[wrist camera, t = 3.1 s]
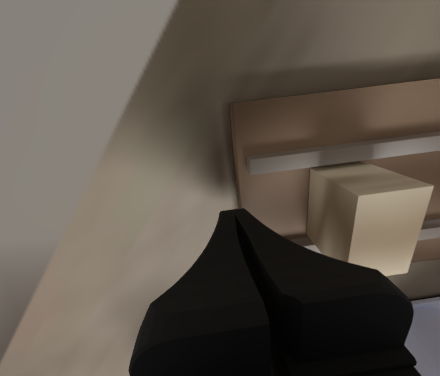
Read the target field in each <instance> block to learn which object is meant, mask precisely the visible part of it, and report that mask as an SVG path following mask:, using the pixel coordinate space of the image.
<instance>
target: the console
mask: <svg viewBox="0 0 440 376" xmlns="http://www.w3.org/2000/svg"><path fill="white" fill-rule="evenodd" d="M229 106H230V118H231V129H232V141H233V152H234V164H235V175H236V187H237V198H238V209H241V208H245V209H246V210H247V211H248V212H249V213H251V214H252V215H253V216H254V217H255V218H256V219H258V220H259V221H260V222H262V223H263V224H264V225H265V226H267V227H268V228H270V229H271V230H273V231H274V232H276V233H278V234H279V235H281V236H283V237H285V238H286V239H288V240H290V241H292V242H294V243H296V244H298V245H301V246H303V247H305V248H308V249H310V250H312V251H315V252H318V253H320V254H322V253H321V252H320V251H319V249H318V248H317V247H316V246H315V244H314V243H313V242H312V241H311V239H310V238H309V237H308V236H307V219H308V202H309V185H310V168H316V167H324V166H331V165H339V164H347V163H354V162H362V161H363V162H366V163H369V164H372V165H375V166H378V167H381V168H384V169H387V170H390V171H393V172H395V173H398V174H401V175H404V176H407V177H410V178H413V179H416V180H419V181H422V182H425V183H427V184H430V185H433V186H434V188H433V191H432V194H431V198H430V201H429V204H428V207H427V211H426V214H425V217H424V220H423V224H422V227H421V230H420V233H419V237H418V240H417V243H416V247H415V250H414V253H413V256H412V260H411V263H413V262H420V261H426V260H433V259H440V78H438V79H429V80H421V81H413V82H404V83H396V84H388V85H379V86H371V87H362V88H354V89H346V90H337V91H329V92H321V93H312V94H304V95H296V96H287V97H279V98H271V99H262V100H254V101H245V102H237V103H229Z"/></svg>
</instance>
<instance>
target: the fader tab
mask: <svg viewBox="0 0 440 376" xmlns="http://www.w3.org/2000/svg"><path fill="white" fill-rule="evenodd" d="M433 188H434V186H433V185H430V184H427V183H425V182H422V181H419V180H416V179H413V178H410V177H407V176H404V175H401V174H398V173H395V172H393V171H390V170H387V169H384V168H381V167H378V166H375V165H372V164H369V163H366V162H363V161H362V162H354V163H347V164H339V165H331V166H324V167H316V168H310V185H309V202H308V219H307V236H308V237H309V238H310V239H311V241H312V242H313V243H314V244H315V246H316V247H317V248H318V249H319V251H320V252H321V253H322V254H323V255H326V256H329V257H332V258H335V259H338V260H341V261H345V262H349V263H353V264H356V265H360V266H364V267H368V268H372V269H376V270H379V271H380V272H381V273H382V274H383V275H384V276H390V275H396V274H403V273H408V269H409V266H410V263H411V260H412V256H413V253H414V250H415V247H416V243H417V240H418V237H419V233H420V230H421V227H422V224H423V220H424V217H425V214H426V211H427V207H428V204H429V201H430V198H431V194H432V191H433Z"/></svg>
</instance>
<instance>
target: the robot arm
mask: <svg viewBox="0 0 440 376" xmlns="http://www.w3.org/2000/svg"><path fill="white" fill-rule="evenodd" d="M129 374H130V376H440V297H435V298H428V299H422V300H415V301H410V300H409V299H408V297H407V296H406V295H405V294H404V293H403V292H402V291H401V290H399V289H398V288H397V287H396V286H395V285H394V284H393V283H392V282H391V281H390V280H389V279H388V278H387V277H386V276H384V275H383V274H382V273H381V272H380V271H379V270H376V269H372V268H368V267H364V266H360V265H356V264H353V263H349V262H345V261H341V260H338V259H335V258H332V257H329V256H326V255H323V254H320V253H318V252H315V251H312V250H310V249H308V248H305V247H303V246H301V245H298V244H296V243H294V242H292V241H290V240H288V239H286V238H285V237H283V236H281V235H279V234H278V233H276V232H274V231H273V230H271V229H270V228H268V227H267V226H265V225H264V224H263V223H262V222H260V221H259V220H258V219H256V218H255V217H254V216H253V215H252V214H251V213H249V212H248V211H247V210H246V209H245V208H241V209H234V210H226V211H221V212H220V213H219V219H218V222H217V225H216V228H215V230H214V233H213V235H212V237H211V239H210V240H209V242H208V244H207V246H206V248H205V249H204V251H203V252H202V254H201V255H200V257H199V258H198V259H197V260H196V262H195V263H194V264H193V266H192V267H191V268H190V269H189V270H188V271H187V272H186V273H185V274H184V275H183V276H182V277H181V278H180V280H179V281H177V282H176V283H175V284H174V285H173V286H172V287H171V288H170V289H168V290H167V291H166V292H165V293H163V294H162V295H161V296H160V297H159V298H157V299H156V300H155V301H153V302H152V303H151V304H150V306H149V308H148V311H147V313H146V315H145V318H144V320H143V322H142V325H141V327H140V330H139V333H138V336H137V339H136V343H135V346H134V350H133V354H132V357H131V361H130V366H129Z"/></svg>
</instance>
